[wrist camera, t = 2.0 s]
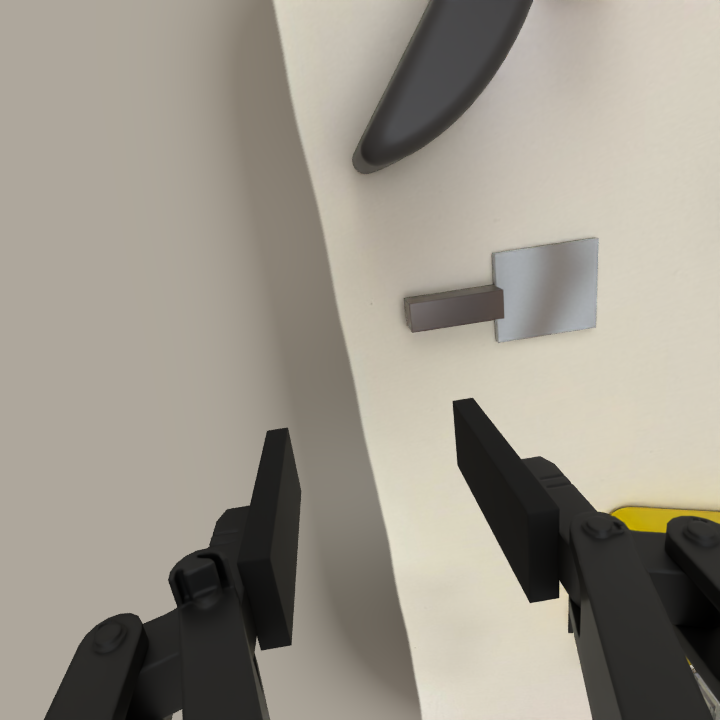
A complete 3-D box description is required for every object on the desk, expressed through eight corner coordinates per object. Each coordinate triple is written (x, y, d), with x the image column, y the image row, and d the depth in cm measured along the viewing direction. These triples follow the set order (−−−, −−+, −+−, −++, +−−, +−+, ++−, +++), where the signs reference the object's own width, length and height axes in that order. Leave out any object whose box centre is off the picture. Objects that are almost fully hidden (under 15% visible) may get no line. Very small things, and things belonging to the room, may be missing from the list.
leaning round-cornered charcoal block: (401, 199, 34) (431, 198, 25) (345, 166, 33) (354, 152, 24) (530, -38, 30) (620, -142, 21) (470, -85, 29) (538, -215, 20)
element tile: (608, 503, 44) (642, 538, 39) (752, 511, 45) (800, 545, 41) (567, 626, 48) (593, 670, 44) (699, 629, 50) (736, 672, 46)
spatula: (409, 354, 37) (415, 363, 35) (400, 266, 35) (405, 270, 33) (592, 325, 38) (608, 332, 36) (594, 237, 36) (611, 239, 34)
